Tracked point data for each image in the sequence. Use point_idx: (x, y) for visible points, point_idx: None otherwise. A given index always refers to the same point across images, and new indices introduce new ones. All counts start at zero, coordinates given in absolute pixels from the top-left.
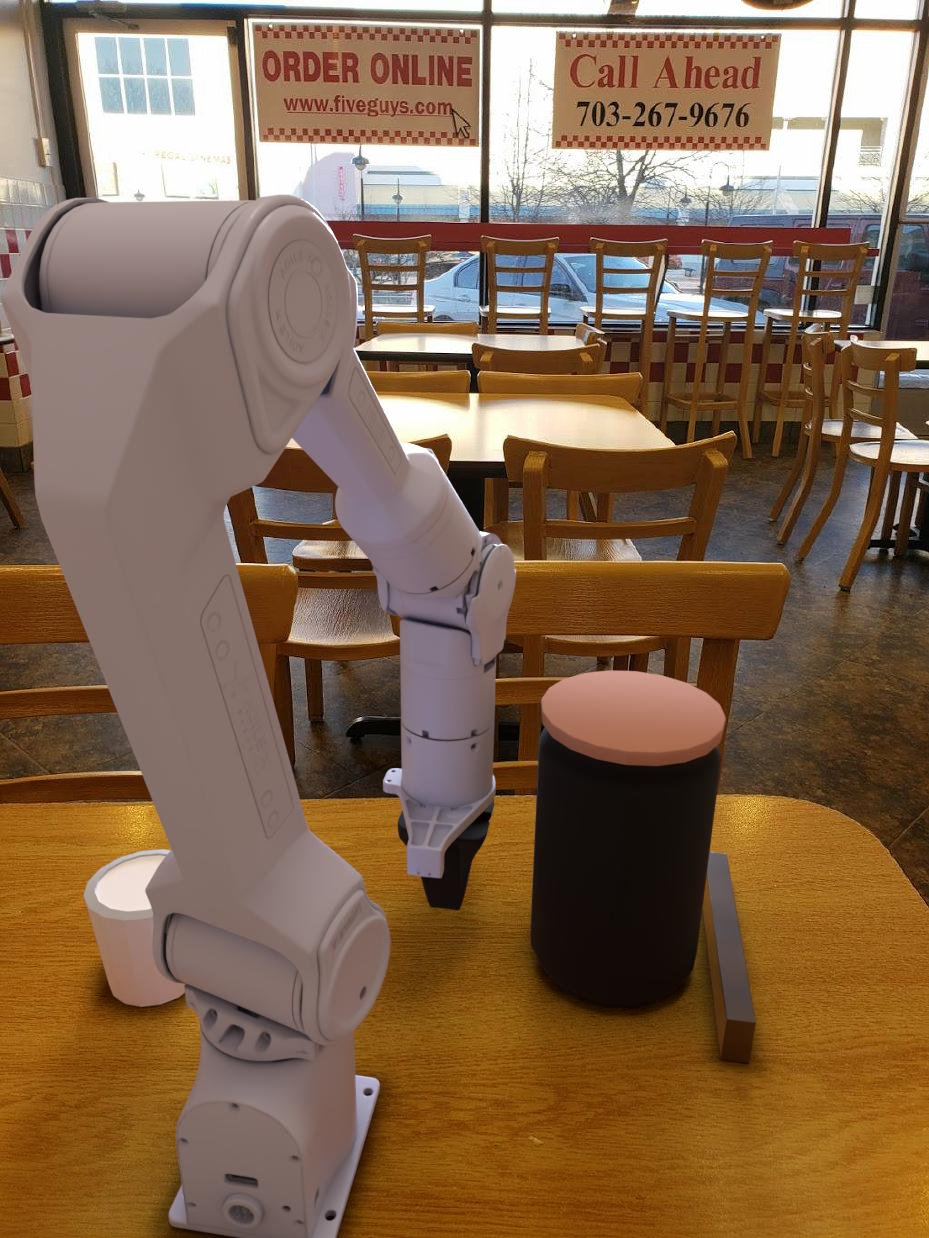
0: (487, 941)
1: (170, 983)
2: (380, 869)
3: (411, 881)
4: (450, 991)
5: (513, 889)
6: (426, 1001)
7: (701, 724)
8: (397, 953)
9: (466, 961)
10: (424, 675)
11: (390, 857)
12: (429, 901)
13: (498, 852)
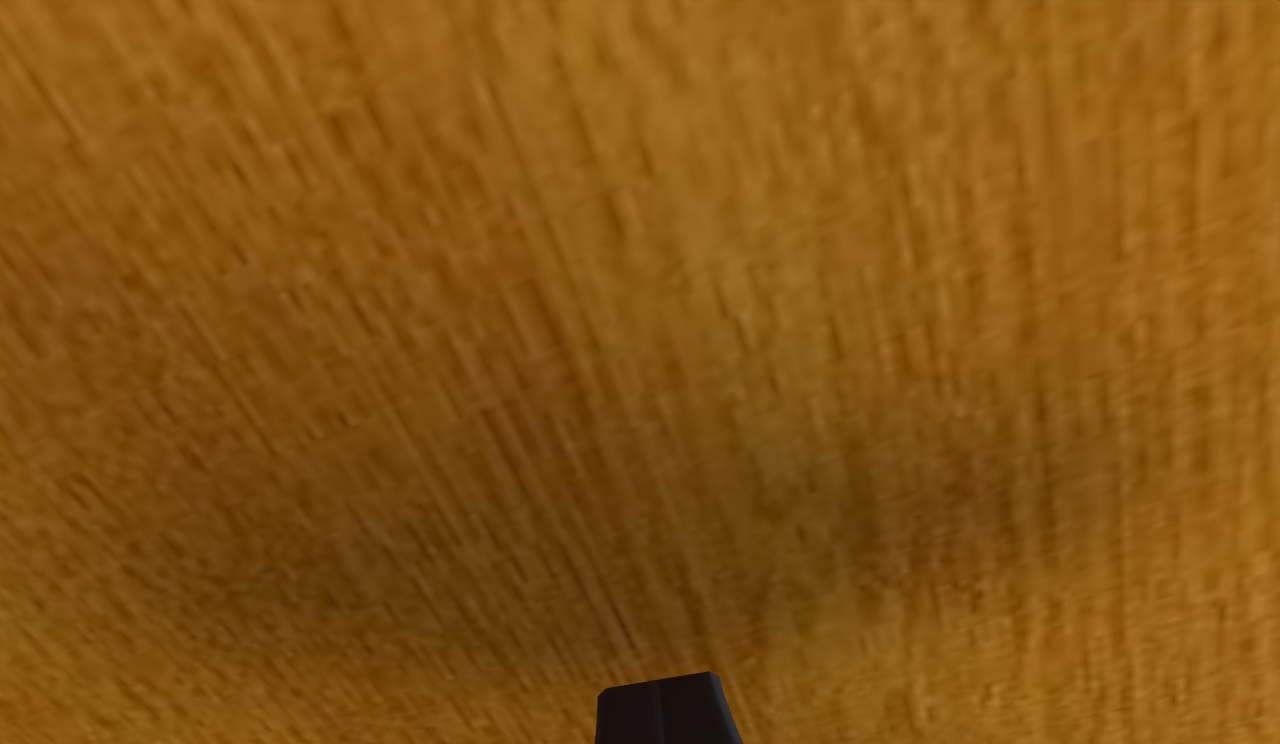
0: None
1: None
2: (1124, 96)
3: (1011, 317)
4: (304, 698)
5: (994, 697)
6: (198, 653)
7: None
8: (416, 461)
9: (497, 691)
10: None
11: (1260, 108)
12: (597, 725)
13: (1270, 586)
